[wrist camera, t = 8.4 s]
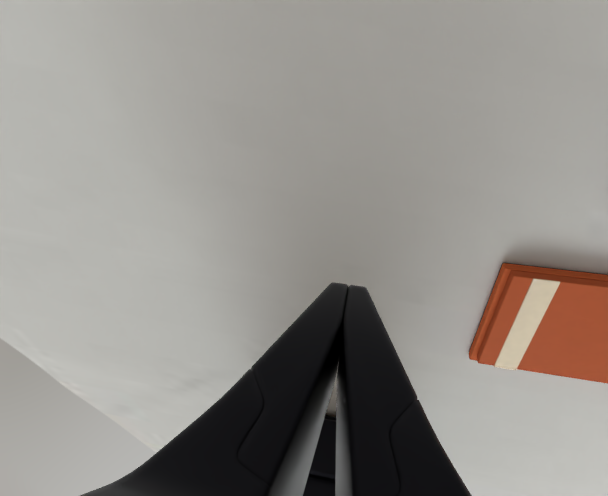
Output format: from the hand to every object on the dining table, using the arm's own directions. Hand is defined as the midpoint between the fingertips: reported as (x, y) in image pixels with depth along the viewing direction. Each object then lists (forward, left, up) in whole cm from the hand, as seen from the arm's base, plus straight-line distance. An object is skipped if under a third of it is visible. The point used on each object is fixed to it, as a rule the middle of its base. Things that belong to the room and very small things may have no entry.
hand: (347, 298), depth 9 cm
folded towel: (-9, -14, -10) cm, 20 cm away
